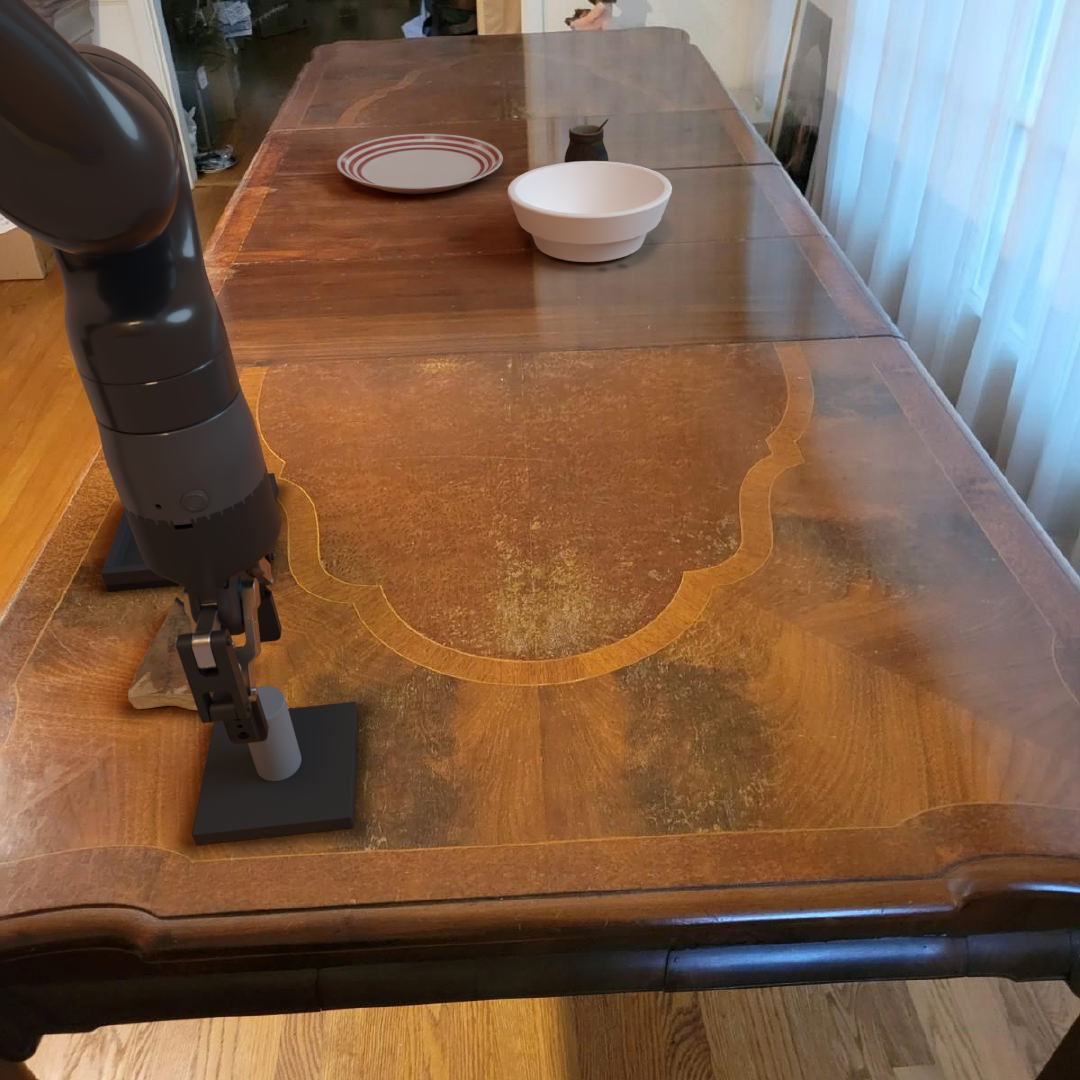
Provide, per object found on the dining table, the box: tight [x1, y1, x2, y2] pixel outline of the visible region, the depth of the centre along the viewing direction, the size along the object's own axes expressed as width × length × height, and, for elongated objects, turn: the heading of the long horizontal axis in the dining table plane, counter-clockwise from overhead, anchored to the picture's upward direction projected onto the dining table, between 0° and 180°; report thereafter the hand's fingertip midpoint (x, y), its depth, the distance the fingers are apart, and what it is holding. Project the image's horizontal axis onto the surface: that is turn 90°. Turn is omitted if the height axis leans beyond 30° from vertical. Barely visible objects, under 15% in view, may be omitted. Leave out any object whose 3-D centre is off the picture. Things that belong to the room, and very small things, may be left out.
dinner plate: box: [336, 133, 504, 195], centre depth 164 cm, size 27×27×3 cm
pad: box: [191, 685, 359, 846], centre depth 65 cm, size 10×10×7 cm
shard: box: [127, 596, 241, 712], centre depth 75 cm, size 11×8×2 cm
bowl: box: [507, 160, 673, 263], centre depth 136 cm, size 22×22×8 cm
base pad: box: [100, 472, 279, 592], centre depth 87 cm, size 13×13×2 cm
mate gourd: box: [563, 118, 610, 163], centre depth 158 cm, size 7×8×10 cm
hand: (258, 685), depth 61 cm, fingers open, 8 cm apart
